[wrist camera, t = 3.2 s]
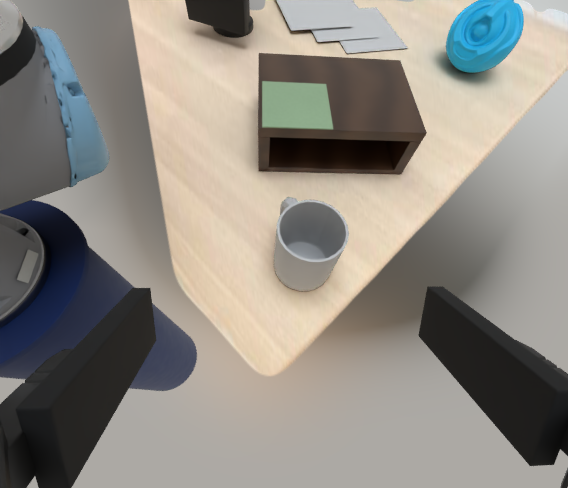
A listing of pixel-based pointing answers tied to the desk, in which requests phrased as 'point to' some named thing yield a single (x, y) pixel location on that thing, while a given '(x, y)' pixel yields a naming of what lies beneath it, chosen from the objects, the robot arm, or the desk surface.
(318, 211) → the cup
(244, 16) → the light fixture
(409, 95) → the shelf
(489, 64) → the blue rounded piece
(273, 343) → the desk surface
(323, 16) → the paper stack
